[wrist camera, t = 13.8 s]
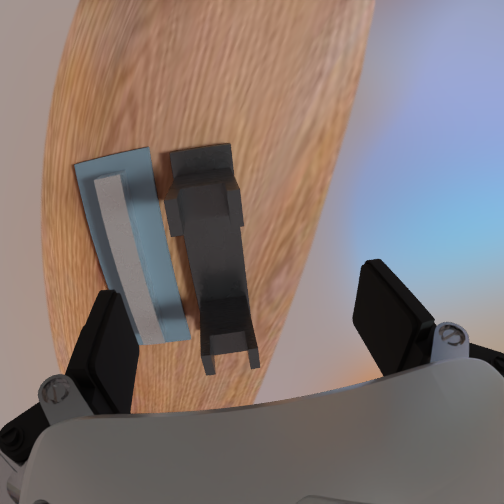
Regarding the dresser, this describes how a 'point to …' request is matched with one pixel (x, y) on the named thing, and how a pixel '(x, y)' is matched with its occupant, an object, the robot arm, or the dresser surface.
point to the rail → (130, 255)
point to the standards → (213, 248)
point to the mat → (149, 231)
